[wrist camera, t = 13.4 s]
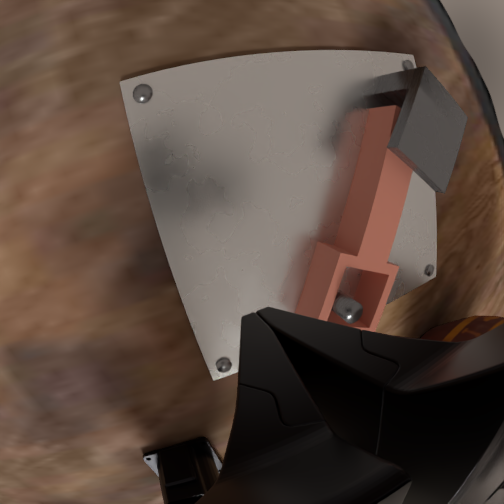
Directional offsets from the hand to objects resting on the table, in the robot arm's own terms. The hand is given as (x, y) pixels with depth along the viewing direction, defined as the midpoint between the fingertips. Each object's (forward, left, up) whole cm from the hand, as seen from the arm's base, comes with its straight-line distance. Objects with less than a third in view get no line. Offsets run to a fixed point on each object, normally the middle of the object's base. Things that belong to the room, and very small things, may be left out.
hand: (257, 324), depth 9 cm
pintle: (-7, -8, -12) cm, 16 cm away
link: (-2, -12, -12) cm, 17 cm away
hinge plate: (-1, -10, -12) cm, 16 cm away
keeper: (+4, -17, -12) cm, 21 cm away
